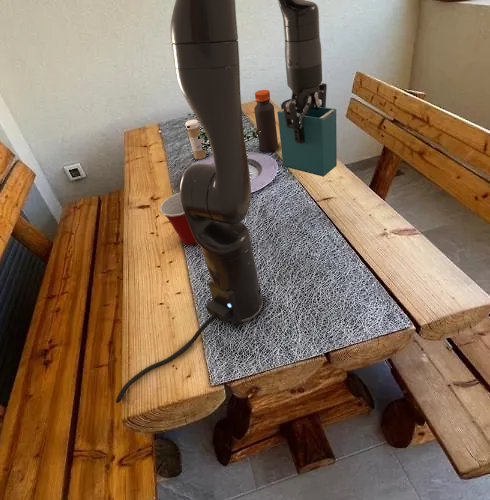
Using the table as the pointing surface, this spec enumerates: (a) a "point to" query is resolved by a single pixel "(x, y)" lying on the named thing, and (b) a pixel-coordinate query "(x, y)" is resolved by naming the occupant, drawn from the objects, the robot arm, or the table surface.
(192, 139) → the sprinkles bottle
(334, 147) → the matte teal cuboid
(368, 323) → the table surface
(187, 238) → the plastic cup
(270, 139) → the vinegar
